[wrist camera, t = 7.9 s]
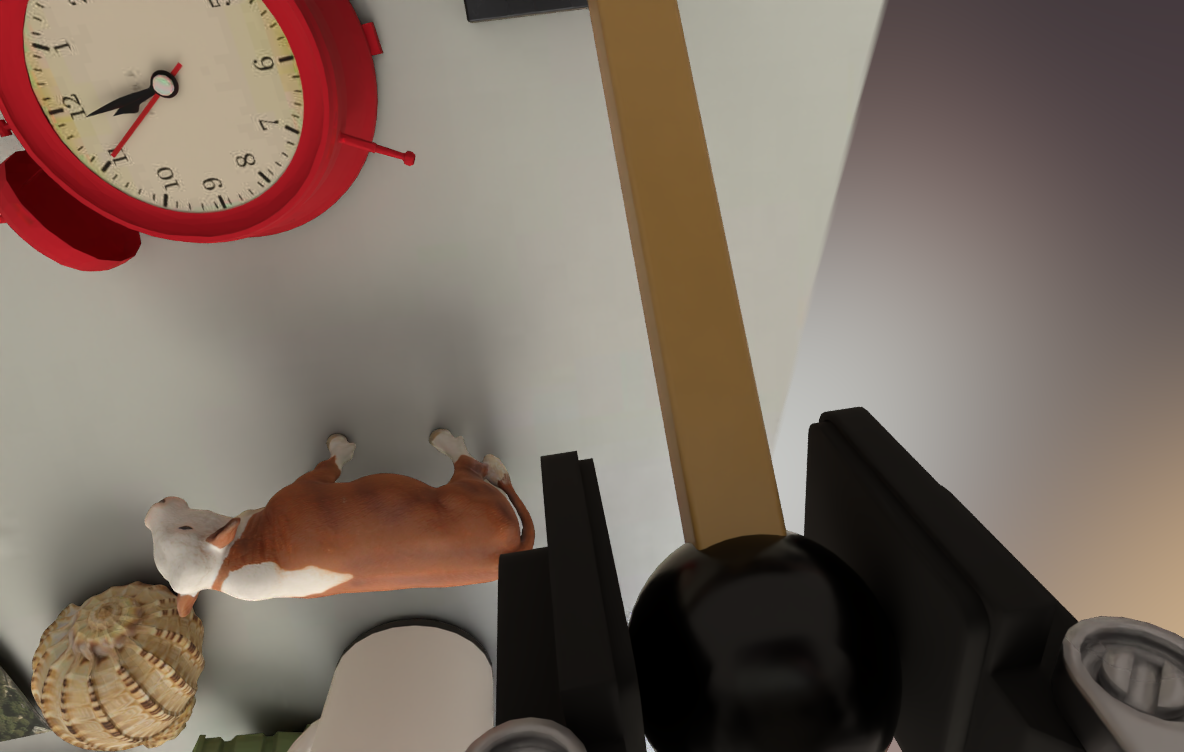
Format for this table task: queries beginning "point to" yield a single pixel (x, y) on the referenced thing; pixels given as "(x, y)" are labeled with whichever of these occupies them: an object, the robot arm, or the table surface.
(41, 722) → the eiffel tower figurine
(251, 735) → the green ridged rod
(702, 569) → the lever
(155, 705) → the seashell
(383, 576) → the bull figurine
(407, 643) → the mug
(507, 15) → the bracket
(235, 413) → the table surface
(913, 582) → the robot arm
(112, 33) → the alarm clock
